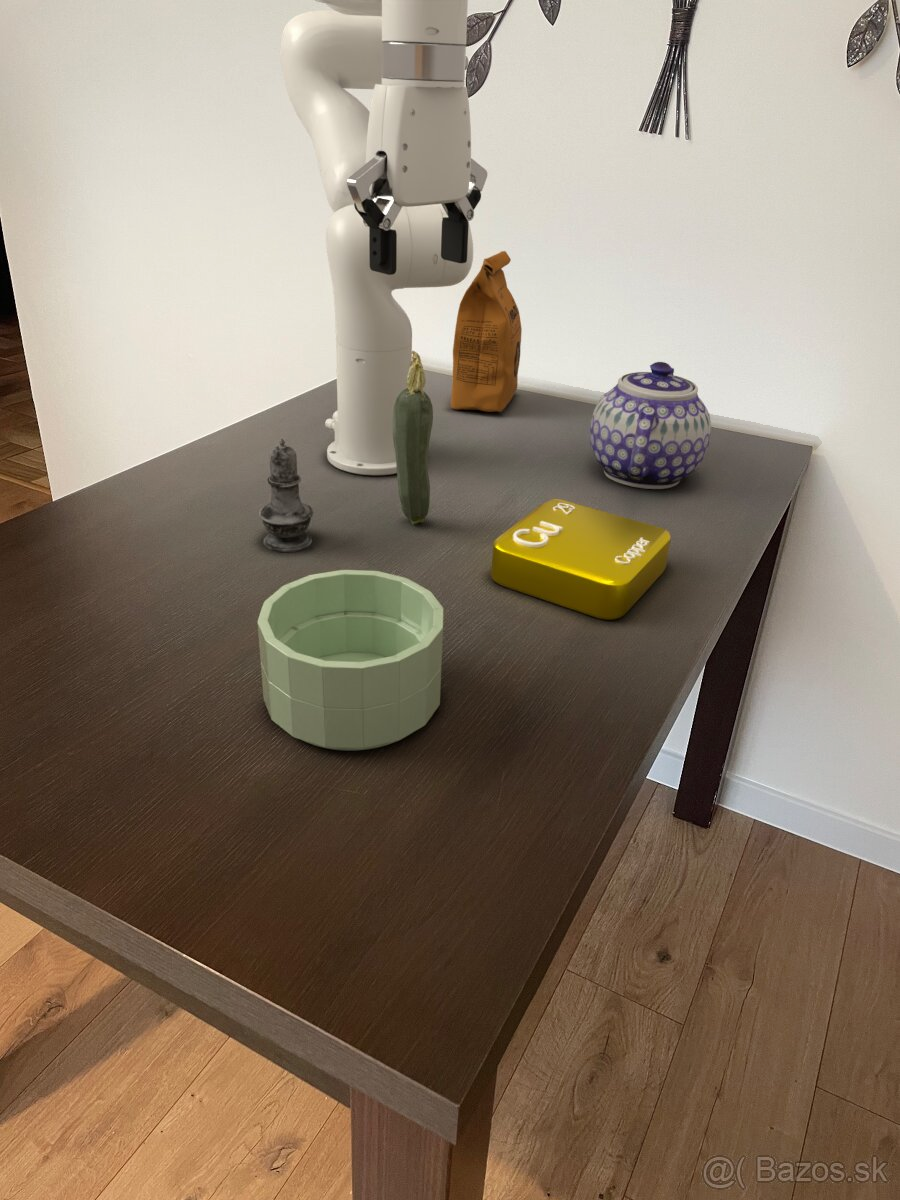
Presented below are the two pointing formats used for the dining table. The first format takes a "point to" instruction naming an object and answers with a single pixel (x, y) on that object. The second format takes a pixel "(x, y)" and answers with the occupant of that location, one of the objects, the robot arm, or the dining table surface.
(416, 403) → the vegetable
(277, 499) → the salt shaker
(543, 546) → the element tile
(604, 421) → the teapot
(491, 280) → the coffee package
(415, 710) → the bowl
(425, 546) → the dining table surface
